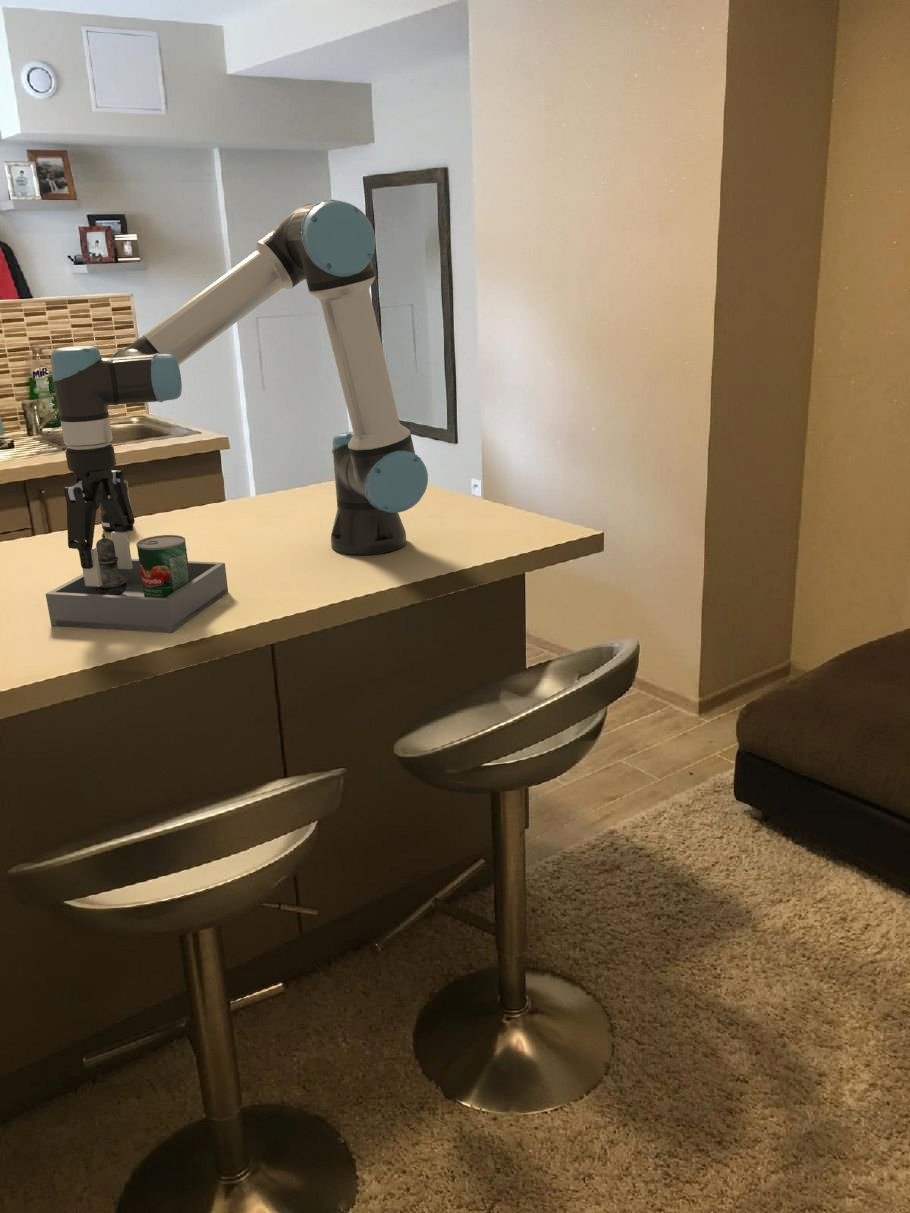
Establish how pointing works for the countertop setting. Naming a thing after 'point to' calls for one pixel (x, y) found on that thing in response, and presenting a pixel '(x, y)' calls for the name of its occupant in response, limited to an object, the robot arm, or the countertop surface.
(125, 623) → the tote
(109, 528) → the supplement container
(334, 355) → the robot arm
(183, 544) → the canned tomato
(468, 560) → the countertop surface
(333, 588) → the countertop surface
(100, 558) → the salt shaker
